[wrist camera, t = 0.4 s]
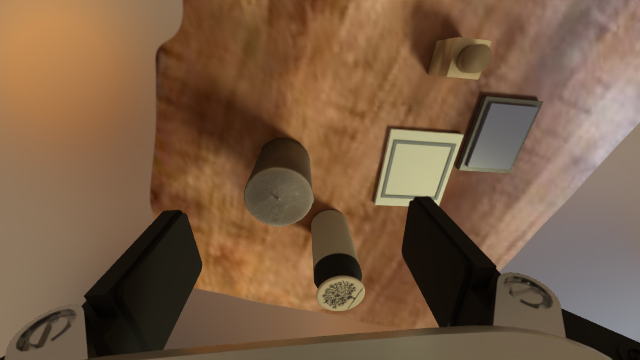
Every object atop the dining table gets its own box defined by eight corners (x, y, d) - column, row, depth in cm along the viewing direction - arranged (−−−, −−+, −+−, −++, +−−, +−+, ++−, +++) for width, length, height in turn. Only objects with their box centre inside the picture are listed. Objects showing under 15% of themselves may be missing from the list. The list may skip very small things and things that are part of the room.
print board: (390, 128, 44) (391, 129, 43) (461, 133, 46) (464, 135, 45) (373, 202, 51) (375, 205, 50) (436, 205, 53) (438, 207, 52)
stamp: (436, 40, 39) (467, 35, 31) (465, 43, 39) (502, 39, 32) (427, 74, 41) (454, 77, 34) (455, 77, 41) (487, 80, 34)
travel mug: (304, 229, 53) (305, 302, 37) (323, 203, 50) (334, 269, 34) (333, 243, 55) (347, 318, 39) (354, 218, 53) (377, 287, 37)
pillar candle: (254, 139, 44) (233, 173, 30) (308, 135, 44) (311, 168, 31) (263, 187, 48) (248, 235, 34) (312, 183, 48) (316, 229, 35)
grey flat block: (482, 95, 43) (488, 96, 41) (538, 100, 44) (546, 102, 43) (456, 167, 49) (461, 171, 48) (506, 170, 50) (512, 174, 49)
